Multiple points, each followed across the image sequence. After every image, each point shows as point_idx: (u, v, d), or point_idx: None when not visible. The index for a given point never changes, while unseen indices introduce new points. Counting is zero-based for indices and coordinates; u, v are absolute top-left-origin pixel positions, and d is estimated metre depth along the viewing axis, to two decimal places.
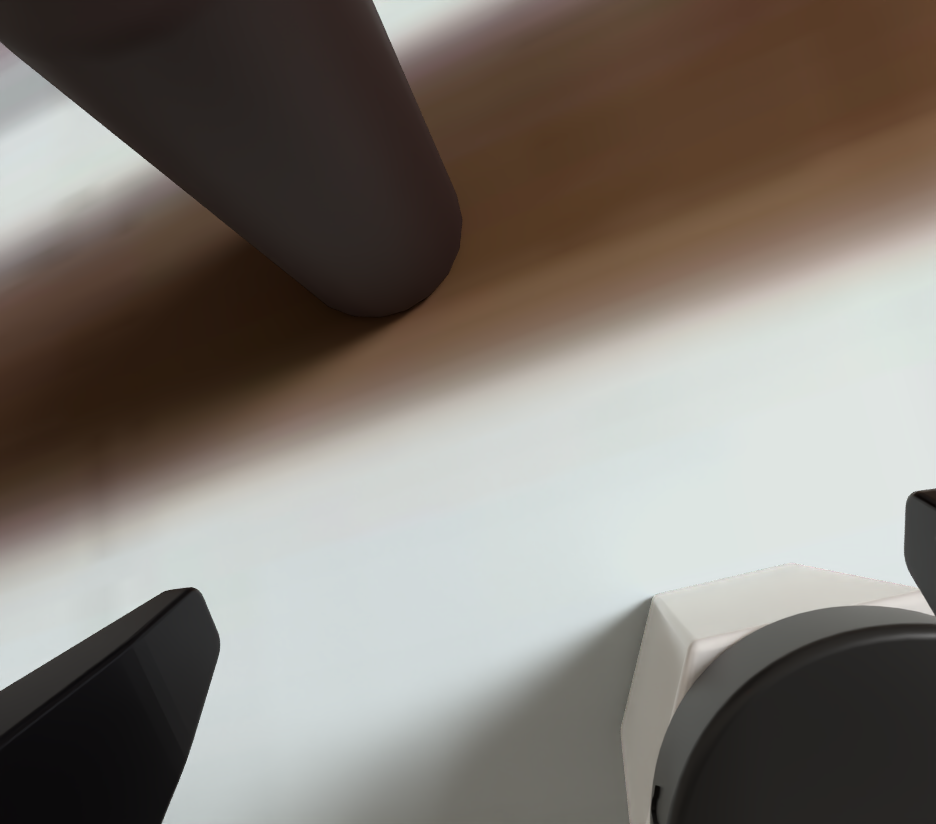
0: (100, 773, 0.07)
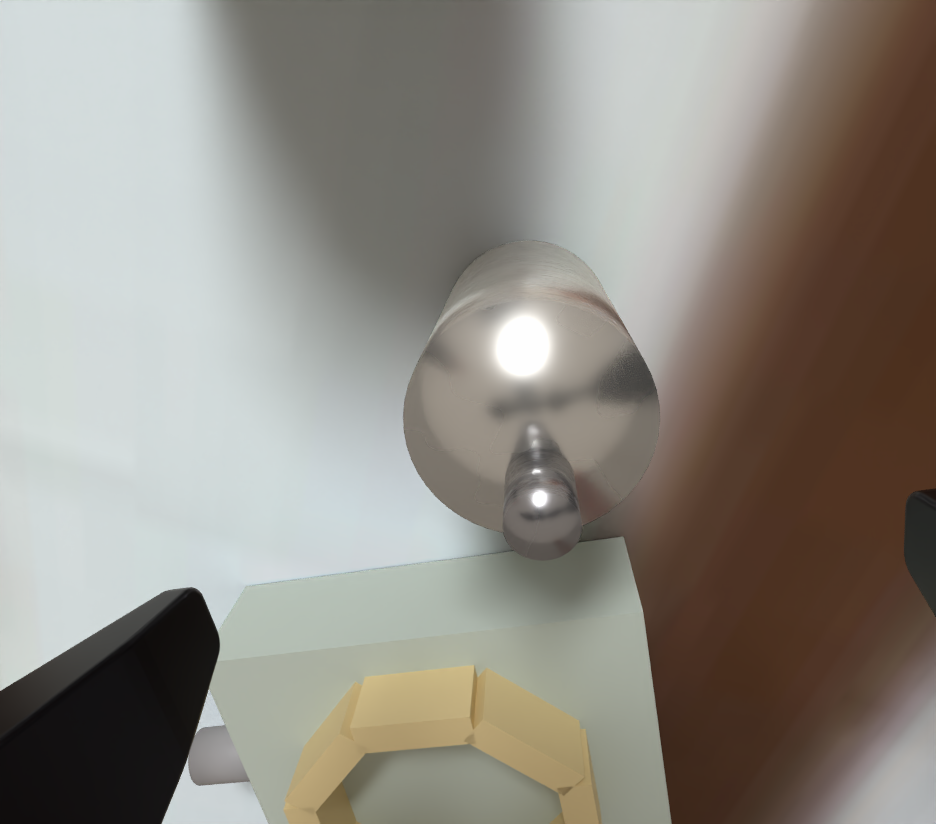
0: (100, 773, 0.07)
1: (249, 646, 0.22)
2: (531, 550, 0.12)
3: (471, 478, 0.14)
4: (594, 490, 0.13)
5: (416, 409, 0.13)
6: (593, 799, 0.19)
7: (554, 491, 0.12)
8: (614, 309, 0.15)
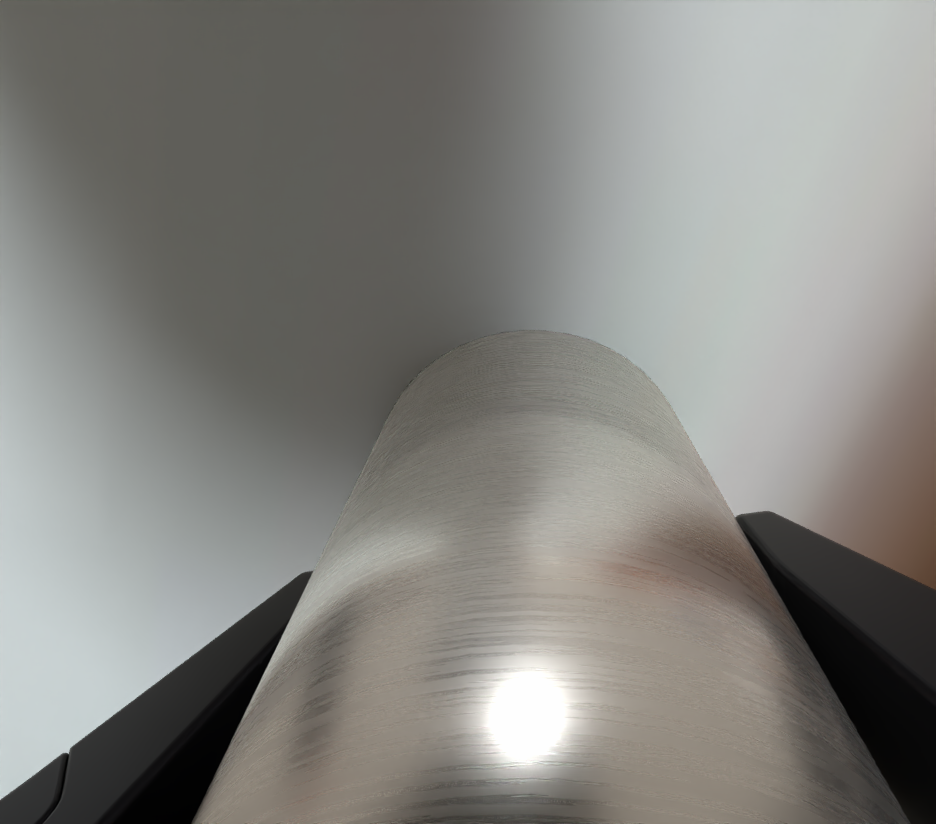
0: None
1: None
2: None
3: None
4: None
5: None
6: None
7: None
8: (765, 573, 0.06)
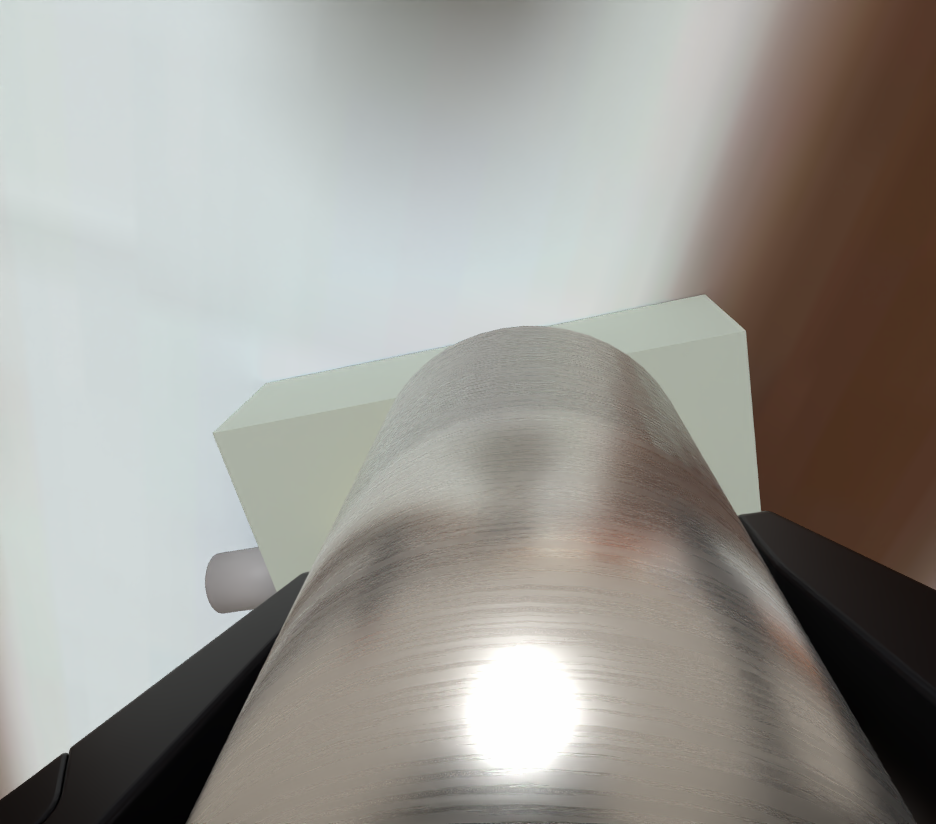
0: None
1: (272, 414, 0.18)
2: None
3: None
4: None
5: None
6: None
7: None
8: (766, 568, 0.06)
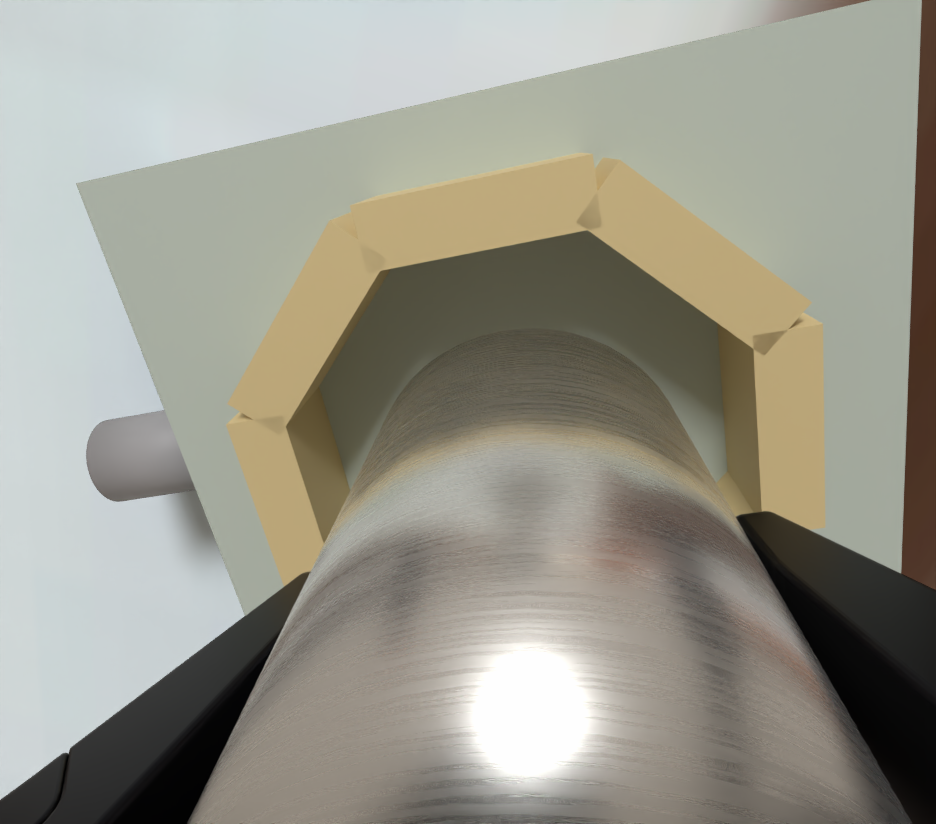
0: None
1: None
2: None
3: None
4: None
5: None
6: (821, 362, 0.10)
7: None
8: (765, 572, 0.06)
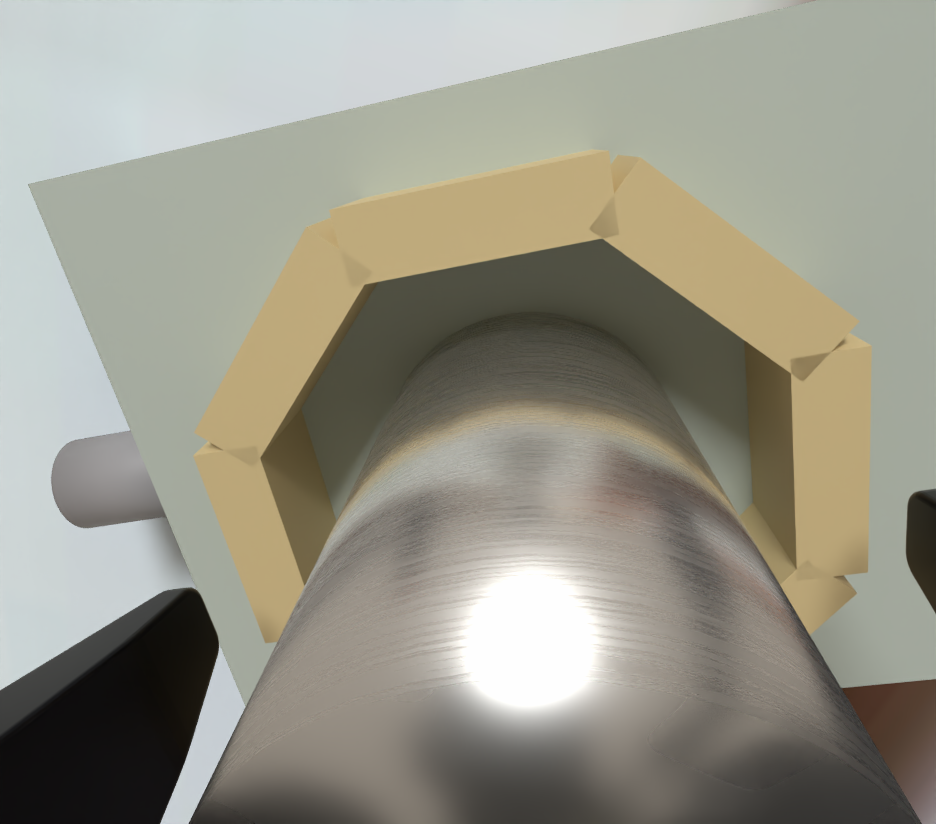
0: (98, 773, 0.07)
1: None
2: None
3: None
4: None
5: None
6: (868, 388, 0.09)
7: None
8: (735, 512, 0.07)
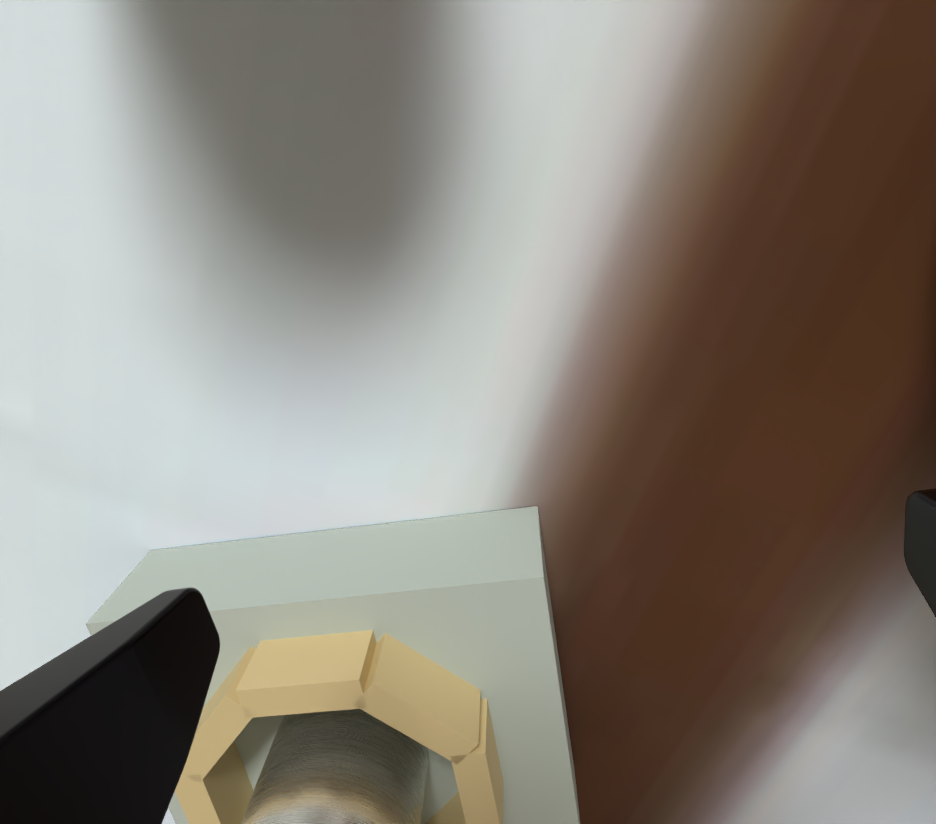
0: (100, 773, 0.07)
1: None
2: None
3: None
4: None
5: None
6: (487, 768, 0.19)
7: None
8: None
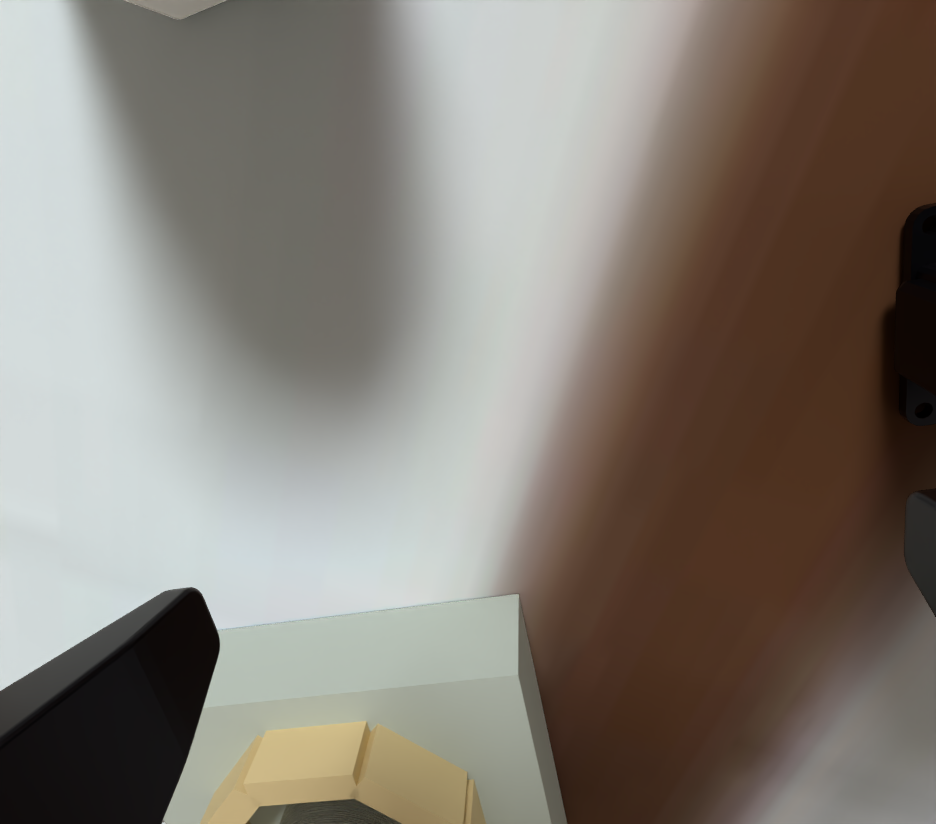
0: (100, 773, 0.07)
1: None
2: None
3: None
4: None
5: None
6: None
7: None
8: None
